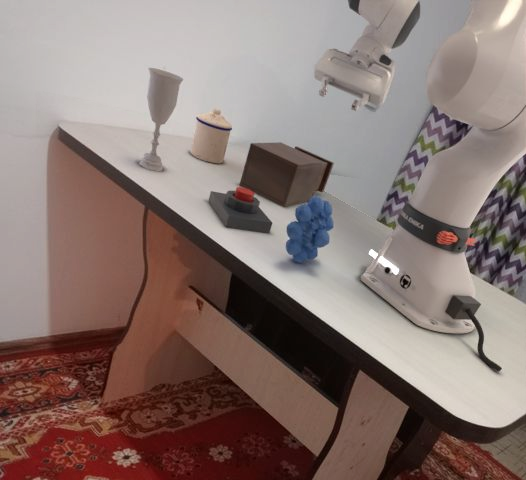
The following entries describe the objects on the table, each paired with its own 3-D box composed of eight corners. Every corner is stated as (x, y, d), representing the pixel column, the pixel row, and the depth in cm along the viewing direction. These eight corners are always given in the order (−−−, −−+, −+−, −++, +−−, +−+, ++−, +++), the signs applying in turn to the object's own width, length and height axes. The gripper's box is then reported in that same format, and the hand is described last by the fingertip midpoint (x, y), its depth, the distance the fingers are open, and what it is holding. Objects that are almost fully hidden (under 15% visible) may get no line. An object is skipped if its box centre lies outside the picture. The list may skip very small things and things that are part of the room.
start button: (254, 204, 88) (257, 195, 87) (237, 201, 86) (239, 192, 85) (248, 197, 90) (250, 188, 89) (231, 194, 89) (233, 185, 88)
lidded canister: (230, 166, 119) (242, 118, 113) (199, 162, 114) (210, 111, 107) (207, 149, 126) (217, 104, 120) (178, 145, 121) (187, 96, 114)
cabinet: (269, 180, 119) (280, 142, 114) (310, 200, 116) (324, 161, 111) (239, 185, 108) (250, 143, 103) (284, 207, 104) (298, 164, 99)
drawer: (294, 174, 129) (303, 146, 125) (329, 190, 126) (340, 162, 122) (263, 179, 115) (272, 147, 111) (301, 197, 112) (313, 165, 108)
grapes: (295, 279, 75) (321, 208, 68) (266, 259, 78) (289, 189, 71) (335, 270, 83) (362, 206, 76) (307, 252, 86) (331, 190, 79)
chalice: (163, 175, 97) (179, 81, 87) (131, 165, 96) (144, 68, 86) (170, 167, 103) (186, 78, 93) (139, 157, 102) (152, 66, 92)
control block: (269, 233, 88) (275, 213, 86) (225, 227, 84) (231, 206, 82) (248, 208, 96) (254, 189, 94) (208, 201, 92) (212, 181, 90)
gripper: (329, 36, 119) (302, 76, 116) (401, 65, 115) (374, 107, 112) (328, 56, 125) (302, 95, 123) (396, 85, 121) (371, 125, 119)
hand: (337, 101), depth 117 cm, fingers open, 8 cm apart
